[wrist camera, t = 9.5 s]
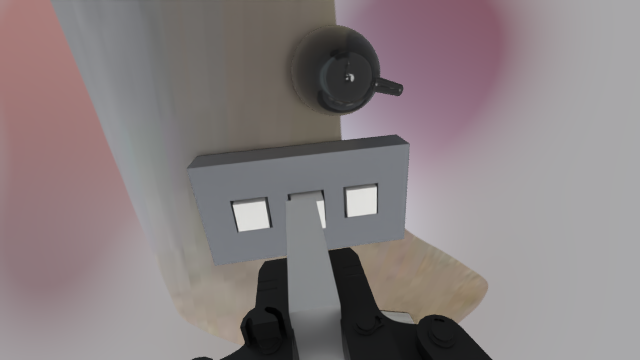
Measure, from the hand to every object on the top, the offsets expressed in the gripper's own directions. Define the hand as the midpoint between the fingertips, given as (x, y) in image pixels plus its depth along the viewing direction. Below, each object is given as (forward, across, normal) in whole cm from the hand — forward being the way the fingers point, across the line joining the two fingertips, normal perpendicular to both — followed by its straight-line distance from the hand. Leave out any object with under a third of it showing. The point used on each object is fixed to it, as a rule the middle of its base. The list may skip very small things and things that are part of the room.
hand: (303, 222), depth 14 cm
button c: (+27, +9, -13) cm, 31 cm away
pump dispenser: (+29, +6, +5) cm, 30 cm away
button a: (+27, -7, -13) cm, 31 cm away
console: (+28, +1, -13) cm, 31 cm away
